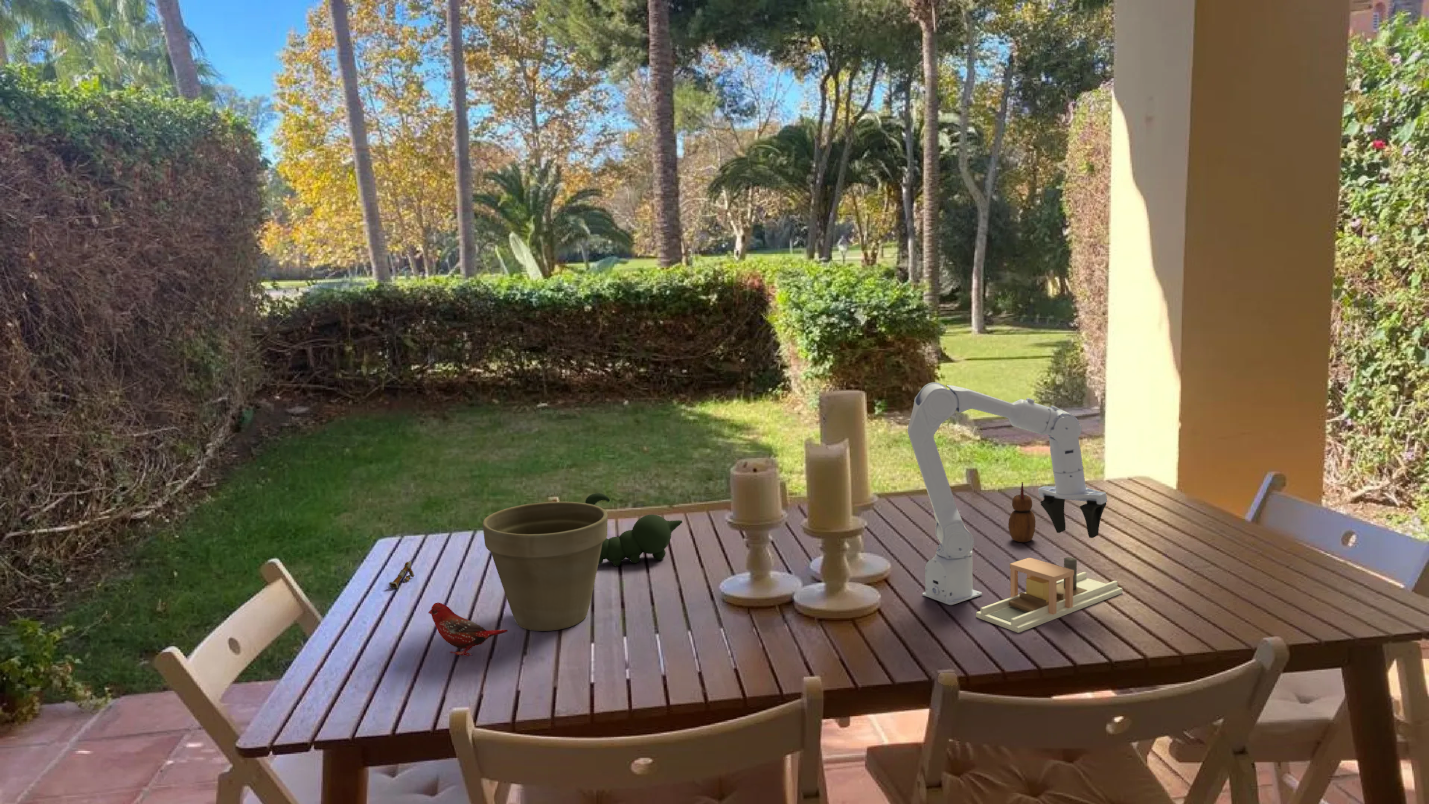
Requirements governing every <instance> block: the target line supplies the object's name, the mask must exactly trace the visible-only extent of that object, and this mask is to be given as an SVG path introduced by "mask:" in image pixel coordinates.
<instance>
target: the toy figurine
mask: <svg viewBox="0 0 1429 804" xmlns="http://www.w3.org/2000/svg"><path fill="white" fill-rule="evenodd" d="M601 501H606V502H608V503H609V502H611V499H610V497H609V496H608V495H606V494H604V493H601V492H596V493H592V494H590V495H588V496H587V497H586V499H585V501H584V503H586V504H592V505H596V504H598V503H599V502H601ZM681 524H683V521H682V520H681V519H680V520H677V519H675V520H666V519H665V518H664V517H662V516H660V515H658V514H646V515H644V516H641V517H640V518H638V520H636V522H635V523H634V524H633V527H632V529H628V530H625V531H623V532H622V533H620V535H619V536H611V537H610V538H606V539H605V541H604V542H602V548H601V553H600V558H599V563H598V565H601V564H602V563H603V562H604V560H607V561H609V562H611V563H612V565H613V566H614V567H620V566H621V564H622V562H623V561H624V560H626V559H629V561H630V562H631V563H632V564H637V563H639V562H640V559H641V555H642V554H647V555H651V556H653V558H654V560H657V561H659V560H660V561H661V560H663V559H664V558H665V557H666V553H667V552H666V550H665V549H666V548H667V547H668V545H670V542H671V538H672V533H673V532H674V531H675V530H676V529H677V528H678V527H680V526H681Z"/></svg>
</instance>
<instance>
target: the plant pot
mask: <svg viewBox="0 0 1429 804" xmlns="http://www.w3.org/2000/svg"><path fill="white" fill-rule="evenodd" d="M608 517H609V514H608V512H607V510H606V509H604V508H602V507H601V506H598V505H596V504H595V505H592V504H586V503H585V502H575V501H545V502H536V503H527V504H520V505H516V506H511V507H510V506H509V507H507V508H505V509H501V510H498V511H495V512H494V513H491V514H490V515H488V516H486V517H485V518H484V519H483V521H482V531H483V538H484V546H485V548H486V549H487V550H488V551H489V552H490V553H491V556H492V560H493V562H494V566H495V568H496V569H495V570H496V571H497V575H498V577H499V580H500V583H501V586H502V588H503V591H504V593H505V597H506V600H507V603H508V605H509V608H510V612H511V615H512V616H513V619H514V622H515V623H516V624H517V626H519V627H520V628H522V629H524V630H528V631H532V632H533V631H534V632H550V631H551V632H552V631H559V630H563V629H568V628H571V627H573V626H576V625H578V624H580V623H581V622H582V621H584V620H585V619H586V617H587V615H588V612H589V609H590V605H591V600H592V595H593V592H594V586H595V581H596V577H597V572H598V567H599V564H598V563H599V558H600V553H601V548H602V542H604V541H605V539H606V538H607V537H608V520H609V519H608ZM607 539H608V538H607Z"/></svg>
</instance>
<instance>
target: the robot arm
mask: <svg viewBox="0 0 1429 804" xmlns="http://www.w3.org/2000/svg"><path fill="white" fill-rule="evenodd" d="M946 386H947V387H948V388H947V387H946ZM946 386H945V385H944V384H943V383H939V382H929V383H927V384H925V385H924V386H923V387H922V388H921V390H920V391H918V393H917V395H916V396H915V397H914V400H913V401H914V402H913V407H912V411H911V415H910V419H909V422H908V427H907V435H908V439H909V441H910V443H911V447H912V449H913V453H914V456H915V459H916V462H917V465H918V468H919V472H920V474H921V477H922V479H923V482H924V486H925V489H926V492H927V495H928V498H929V502H930V505H931V506H932V510H933V514H934V515H933V516H934V519H935V530H934V532H935V533H934V534H935V536H936V538H937V540H938V541H939V542H940V543H939V544H938V546H937V548H936V550H935V551H936V552H935V555H934V556H933V557H932V558H931V559H929V560H928V561H927V562H926V564H925V568H924V581H925V583H924V585H925V586H924V588H925V591H924V592H921V593H922V596H924V597H927V598H930V599H932V600H935V601H938V602H940V603H943V604H945V605H949V606H953V605H956V604H958V603H962V602H964V601H968V600H971V599H974V598H976V597H979V596H980V597H981V596H982V595H983V592H982V591H978V590H975V589H974V588H973V585H974V584H973V548H974V545H975V542H974V541H975V540H974V536H973V534H972V533H971V532H970V531H969V530H968V528H966V526H965V523H964V522H963V520H962V517H961V514H960V512H959V509H958V507H957V505H956V501H955V499H954V495H953V491H952V488H951V486H950V482H949V480H948V477H947V474H946V471H945V467H944V465H943V461H942V459H941V456H940V452H939V450H938V446H937V444H936V440H935V438H934V436H935V434H936V433H937V431H938V430H939V428H940V427H941V425H942V424H943V423H944V422H945V421H947V420H948V419H950V418H951V417H952V416H953V415H954V414H955V412H957V413H959V414H961V413H964V412H966V411H969V410H975V411H980V412H983V413H988V414H990V415H995V416H998V417H1001V418H1002V417H1003V418H1007V419H1008V421H1009V423H1010V425H1011V426H1012V427H1014V428H1018V429H1020V430H1021V429H1022V430H1025V431H1028V432H1031V433H1034V434H1038V435H1043V436H1048V441H1049V447H1050V448H1049V452H1050V458H1051V465H1052V466H1051V467H1052V472H1053V481H1054V486H1047V485H1043V486H1040V487H1039V488H1038V489H1037V490H1038V497H1039V498H1042V499H1043V500H1041V501H1040V506H1041V507H1042V508H1043V509H1044V510H1045V512H1046V514H1047V515H1048V517H1049V519H1050V520H1051V523H1052V524H1053V526H1054V529H1055V531H1056V533H1057V534H1060V533H1062V532H1064V531H1066V518H1065V517H1066V516H1065V503H1066V500H1069V501H1078V502H1086V503H1085V504H1084V503H1083V504H1082V505H1080V506H1079V509H1080V511H1081V512H1082V516H1083V517H1084V519H1085V523H1086V524H1085V525H1086V530H1087V534H1088V538H1090V539H1093V538H1096V537H1098V536H1099V529H1100V523H1101V519H1102V515H1103V512H1104V510H1105V507H1106V506H1107V502H1108V497H1107V492H1105V491H1099V490H1096V489H1092V488H1089V487H1087V485H1086V481H1085V479H1086V478H1085V472H1084V466H1083V458H1082V450H1081V445H1080V439H1079V437H1080V436H1081V433H1082V429H1083V427H1082V425H1081V424H1080V421H1079V420H1078V418H1077V417H1076V415H1073V414H1072V413H1070V412H1068V411H1066V410H1063V409H1061V408H1058V407H1057V406H1054V405H1050V406H1048V405H1043V404H1041V403H1036V402H1035V400H1034V399H1033V398H1030V397H1026V399H1023V398H1020V399H1018V400H1016V401H1013V402H1011V401H1006V400H1004V399H1000V398H998V397H994V396H991V395H988V394H986V393H982V392H979V391H975V390H973V389H969V388H966V387H962V386H957V385H952V384H951V385H950V384H946Z"/></svg>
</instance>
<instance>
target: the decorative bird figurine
mask: <svg viewBox="0 0 1429 804" xmlns="http://www.w3.org/2000/svg"><path fill="white" fill-rule="evenodd" d="M428 614H430V615H431V618H432V621H433V622H434V625H435V627H436V630H437V632H438V634H439V636H441V638H442V639H443V640H444V641H445V642H446V643H448V644H449V645H451V646H453V647H454V648H456V649H461V650H462V649H463V650H462V651H449V653H451V654H455V655H456V656H458V655H461V656H466V657H470V656H471V657H473V654H472V653H470V652H469V651H470V650H471V649H472V648H474V647H478V646H481V645H483V644H484V643H485V642H486V641H487V640H488V639H490V638H491V637H494V636H497V635H501V634H505V633H507V632H509V629H491V630H487V629H486V628H485V627H483V626H481V625H480V624H479V623H477V622H474V621H472V620H469V619H467V618H466V617H465V618H464V617H462V616H460V615H458V614H456V613H455V612H454V611H453V610H452V609H451V608H450V607H449V606H447V605H446V604H444V603H441V602H435V603H433V605H432V606H431V608H430V610H429V611H428Z"/></svg>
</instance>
